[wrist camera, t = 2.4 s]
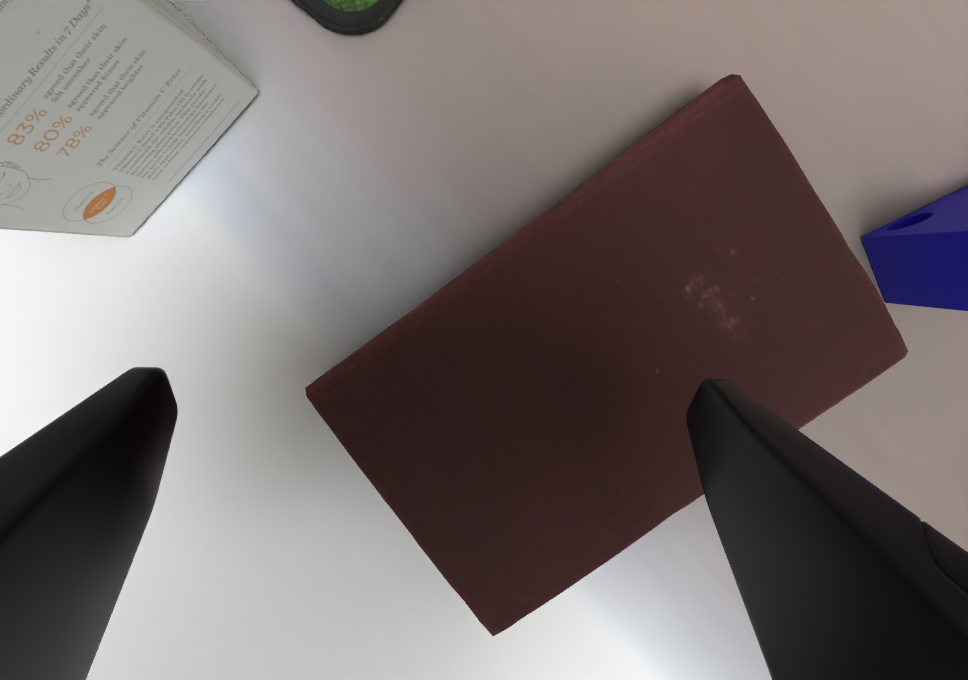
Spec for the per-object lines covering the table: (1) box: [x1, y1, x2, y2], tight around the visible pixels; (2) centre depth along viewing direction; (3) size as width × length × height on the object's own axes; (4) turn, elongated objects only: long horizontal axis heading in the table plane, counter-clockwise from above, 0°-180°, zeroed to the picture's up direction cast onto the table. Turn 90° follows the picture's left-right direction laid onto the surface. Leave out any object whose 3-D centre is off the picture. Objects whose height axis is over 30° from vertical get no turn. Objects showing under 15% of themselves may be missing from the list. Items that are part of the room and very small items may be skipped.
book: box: [306, 74, 908, 636], centre depth 21 cm, size 12×19×3 cm, turn 126°
